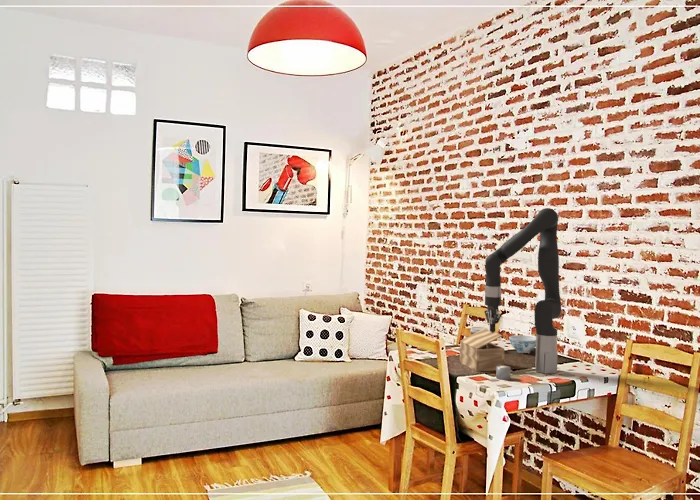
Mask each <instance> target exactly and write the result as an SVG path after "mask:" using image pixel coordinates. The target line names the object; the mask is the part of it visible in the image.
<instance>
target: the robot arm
mask: <svg viewBox="0 0 700 500" xmlns="http://www.w3.org/2000/svg"><path fill="white" fill-rule="evenodd" d="M558 225H559V215H558V213H557V212H556V211H555V210H554V209H553V208H550V207H546V208H545V207H544V208H542V209H541V210H540V211H538V213H537V214H536V216H535V217H533V219H531V221H530V222H529V223H528V224H527V225H526V226H525V227H523V228H522V229H521V230H520V231H518V232H517V233H515V234H514V235H513V236H511V237H510V238H509V239H507V240H506V241H505V242H504V243H502V245H500V247H498V248H497V249H496V250H494V251H493V252H492V253H490V254H489V255H487V256H486V258H485V264H484V267H485V289H484V305H485V306H486V310H484V315H485V318H486V321H487V323H489V330H490V332H495V333H496V325H497V324H499V322H500V319H501V317H502V314H501V313H499V312H500V311H499V310H500V309H499V307H500V306H502V276H501V266H502V265H503V264H504V263H505V262H506V261H507V260H508V259H510V258H511V257H513V256H514V255H516V254H517V253H518V252H519V251H521V250H522V249H523V248H524V247H525V246H526V245H528V243H529V242H530V241H531V240H533V239H534V238H535V237H536V236H537V235H539V238H540V239H539V246H538V253H537V270H538V275H539V277H540V280H541V282H542V284H543V288H544V299H543V300H539V301H537V302H536V304H535V307H534V328H535V331H536V333H535V337H536V347H535V365H534V370H535V372H537V373H541V374H545V375H546V374H557V373H558V353H559V352H558V350H557V349H558V348H557V347H558V329H557V327H555V326H554V324H553V320H555V319H557V318H559V317H560V315H561V313H562V302H561V293H560V272H559V271H560V259H559V258H560V257H559V247H558V242H557V241H558V239H557V236H558Z"/></svg>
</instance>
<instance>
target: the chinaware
mask: <svg viewBox="0 0 700 500" xmlns="http://www.w3.org/2000/svg"><path fill="white" fill-rule="evenodd" d="M509 343H510V345H511V346H512V348H513V349H514V350H516V352H517V353H518V354H523V353H528V354H531V352H532V351H533V350H534V349H536V336H532V335H523V334H522V335H519V334H517V335H516V334H514V335H509Z"/></svg>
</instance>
